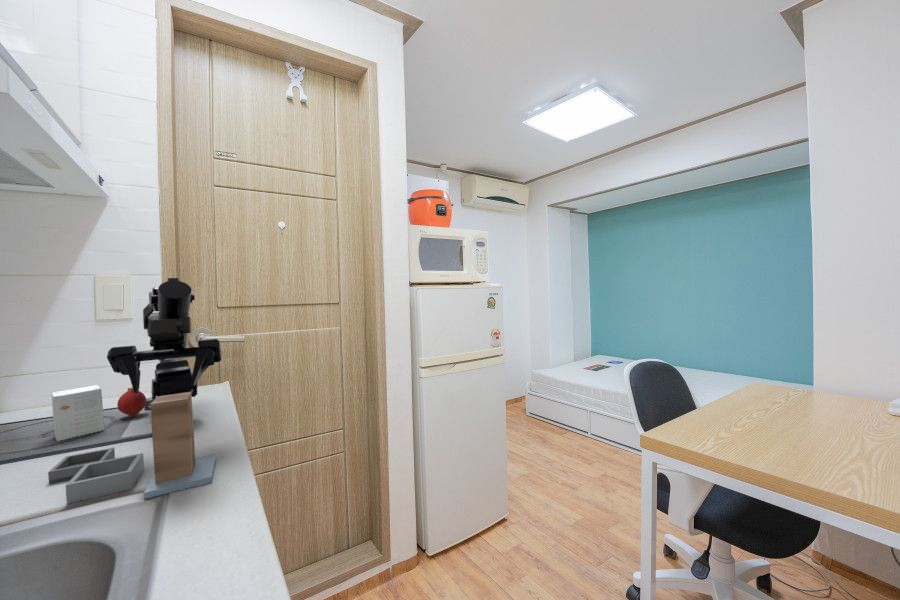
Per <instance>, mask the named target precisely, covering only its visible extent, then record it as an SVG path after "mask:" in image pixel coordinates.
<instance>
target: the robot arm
mask: <svg viewBox="0 0 900 600" xmlns="http://www.w3.org/2000/svg"><path fill="white" fill-rule="evenodd" d="M179 279H180V278H179V277H168V278H167V281H165V282H162V283H161V284H160V285H159V286H158V287H156V286H154V287H152V290H151V291H149V292H148V304H147V305H146V306H144V308H143V310H142V322H143V323H142V324H143V330H146V333H147V337H149V346H150V347H152V349H149V350H148V349H147V350H138V349H137V346H136V345H125V346H113V347H111V348H110V349H109V350H108V352H107V355H106V359H107V360H108V363H109V364H110V367H111V369H112V371H113V372H114V373H117V374H121V375H123V376H128V377H129V380H130V384H131V386H132V388H133V390H134V393H135V394H137V393H138V391H140V382H141V370H140V367H141V362H149V361H157V360H158V361H159V363H156V365H155V370H154V378H153V379H151V401H152V402H153V401H154V399H155V398H156V397H157V396H164V395H172V394H179V393H186V392H191V394H192V398H195V397H197V395H198V383H199V382H198V381H199V380H200V378H201V377H202V375H203V374H204V373H205V371H206V370H207V369H208V368H209V367H210V366H214V365H215V363H219V362H221V361H222V348H221V342H220V340H219V339H218V338H212V339H211V338H209V339H208V338H207V339H198V342H197V346H194V347H187V342H188V341H187V340H188V334H191V333H192V320H191V319H192V318H191V317H190V313H189V312H190V307H191V304H192V303H193V301H195V294H192V287H191V286H190V285H189V284H188V283H186V282H184V281H180V280H179ZM186 358H195V360H194V364H193V365H194V366H193V369H192V370H191V366H190V365H189V364H190V363H189V361H188V360H187V359H186ZM152 402H151V403H152Z"/></svg>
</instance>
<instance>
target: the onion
mask: <svg viewBox="0 0 900 600" xmlns="http://www.w3.org/2000/svg"><path fill="white" fill-rule="evenodd" d="M146 405H147V397H146V395H145V394H144V393H143V392H142V391H140V390H139V391H138V393H137V394H135V393H134V390H133V387H131V386H129V387H128V388H127V391H126V392H124V393H123V394H122V395H121V396H120V397H119V398H118V400H117V405H116V406H117V409H118V411H119V412H120V413H122V414H125V415H127V416H129V417H135V416H136V415H138V414H139V413H140V412H142V411H143V410H144V408H145V407H146Z"/></svg>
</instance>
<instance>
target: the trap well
mask: <svg viewBox="0 0 900 600" xmlns="http://www.w3.org/2000/svg"><path fill="white" fill-rule="evenodd" d="M115 457H116V452H115V447H114V446H113V447H108V448H104V449H99V450H93V451H87V452H81V453H77V454H71V455H66V456H65V457H63V458H62V459H61V460H60V461H58V463H57V464H55V465H54V467H52V468H51V469H50V470H49V471H48V472H47V473H48V476H47V477H48V484H54V483H58V482H62V481H67V480H71V479H72V478H73V477H74V476H75V475H76V474H77V473H78V472H79V471H80V469H81V468H82V467H83V466H84V465H85V464H89V463H95V462H100V461H105V460H110V459H115Z"/></svg>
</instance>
